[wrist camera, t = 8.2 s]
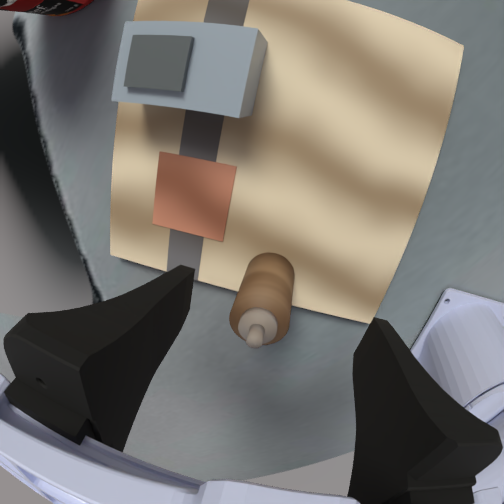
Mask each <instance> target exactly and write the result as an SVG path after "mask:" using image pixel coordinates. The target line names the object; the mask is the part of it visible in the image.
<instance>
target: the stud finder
mask: <svg viewBox="0 0 504 504" xmlns="http://www.w3.org/2000/svg"><path fill="white" fill-rule="evenodd" d="M267 43H268V42H267V40H266V39H265V38H264V36H263V35H262V33H261V32H260V30H259V29H258V28H251V27H244V26H236V25H227V24H216V23H204V22H186V21H127V22H125V25H124V30H123V34H122V39H121V44H120V49H119V55H118V60H117V66H116V72H115V78H114V85H113V92H112V99H111V101H117V102H129V103H139V104H149V105H158V106H166V107H174V108H181V109H188V110H195V111H201V112H207V113H213V114H219V115H225V116H230V117H235V118H242V117H246V116H251V115H252V112H253V107H254V102H255V98H256V93H257V88H258V84H259V79H260V75H261V70H262V66H263V61H264V57H265V52H266V48H267Z"/></svg>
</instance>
